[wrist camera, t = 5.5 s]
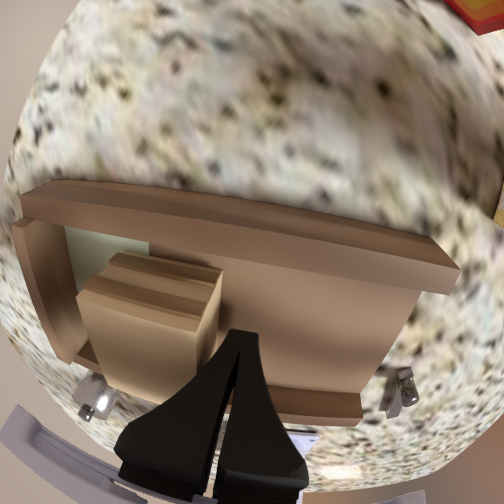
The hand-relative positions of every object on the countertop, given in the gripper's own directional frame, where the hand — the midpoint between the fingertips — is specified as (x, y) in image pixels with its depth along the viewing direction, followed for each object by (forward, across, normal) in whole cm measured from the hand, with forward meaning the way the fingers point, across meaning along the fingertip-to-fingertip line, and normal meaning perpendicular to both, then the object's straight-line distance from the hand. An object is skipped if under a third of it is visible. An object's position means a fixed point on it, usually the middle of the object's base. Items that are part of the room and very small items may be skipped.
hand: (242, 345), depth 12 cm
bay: (+2, +2, 0) cm, 3 cm away
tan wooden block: (+1, +4, 0) cm, 4 cm away
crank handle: (+3, -12, +6) cm, 14 cm away
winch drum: (+2, +10, +9) cm, 13 cm away
